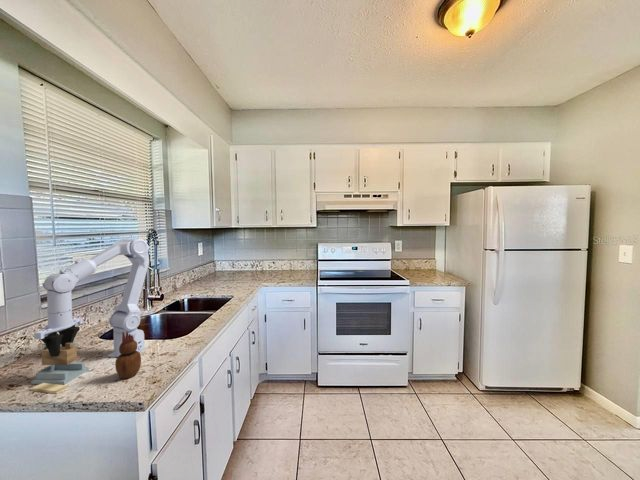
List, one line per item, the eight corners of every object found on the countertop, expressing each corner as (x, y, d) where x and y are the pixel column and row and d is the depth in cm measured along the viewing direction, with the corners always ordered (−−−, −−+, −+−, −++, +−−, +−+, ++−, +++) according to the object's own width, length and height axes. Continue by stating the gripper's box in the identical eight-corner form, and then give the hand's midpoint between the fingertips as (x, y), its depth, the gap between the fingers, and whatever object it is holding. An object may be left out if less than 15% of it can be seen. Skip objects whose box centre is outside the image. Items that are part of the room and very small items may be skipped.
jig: (88, 369, 94) (88, 361, 94) (64, 384, 86) (64, 374, 85) (59, 369, 95) (59, 360, 94) (31, 384, 86) (31, 374, 85)
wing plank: (67, 389, 84) (67, 385, 84) (56, 395, 81) (56, 391, 81) (43, 386, 85) (43, 382, 85) (31, 392, 82) (31, 388, 82)
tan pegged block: (76, 359, 92) (76, 340, 91) (67, 365, 88) (66, 345, 88) (52, 359, 92) (52, 340, 91) (41, 365, 88) (41, 345, 88)
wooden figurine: (121, 383, 87) (120, 335, 86) (112, 377, 90) (111, 331, 89) (144, 373, 92) (143, 328, 92) (135, 369, 95) (135, 325, 95)
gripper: (68, 305, 97) (68, 344, 97) (23, 318, 82) (24, 363, 83) (88, 305, 97) (89, 344, 97) (47, 318, 82) (48, 363, 83)
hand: (60, 353), depth 90 cm, fingers closed on tan pegged block, 3 cm apart
